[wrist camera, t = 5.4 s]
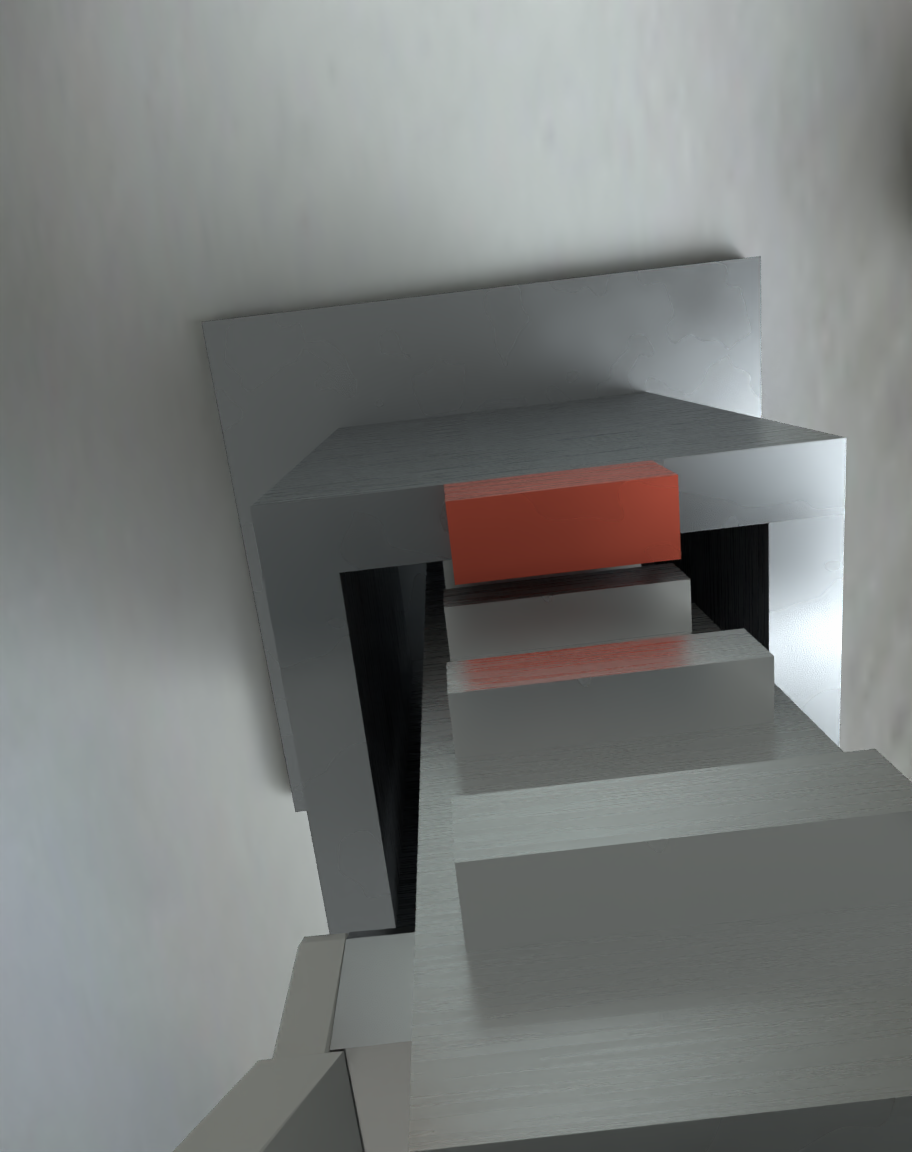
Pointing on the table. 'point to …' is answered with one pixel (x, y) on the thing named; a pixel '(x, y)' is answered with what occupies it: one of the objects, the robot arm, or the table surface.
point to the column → (647, 886)
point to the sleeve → (504, 507)
